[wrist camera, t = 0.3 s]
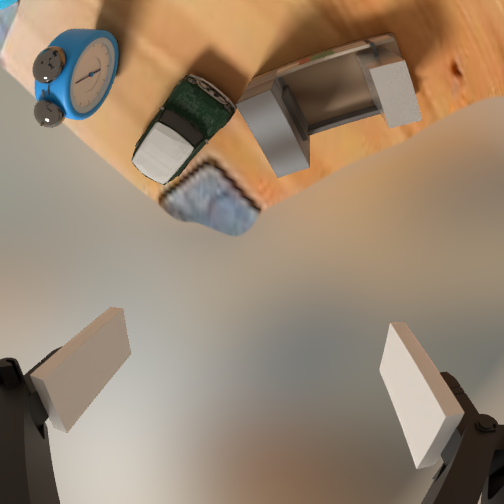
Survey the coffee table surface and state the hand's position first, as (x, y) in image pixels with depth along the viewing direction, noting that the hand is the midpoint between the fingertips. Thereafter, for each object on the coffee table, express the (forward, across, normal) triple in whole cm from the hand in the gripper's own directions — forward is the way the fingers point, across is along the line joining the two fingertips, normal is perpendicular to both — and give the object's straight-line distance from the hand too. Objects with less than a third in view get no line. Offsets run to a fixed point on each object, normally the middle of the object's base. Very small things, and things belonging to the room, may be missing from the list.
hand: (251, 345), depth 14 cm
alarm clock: (+26, -26, +27) cm, 46 cm away
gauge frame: (+28, +8, +21) cm, 36 cm away
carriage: (+25, +13, +22) cm, 36 cm away
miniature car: (+33, -14, +16) cm, 40 cm away
